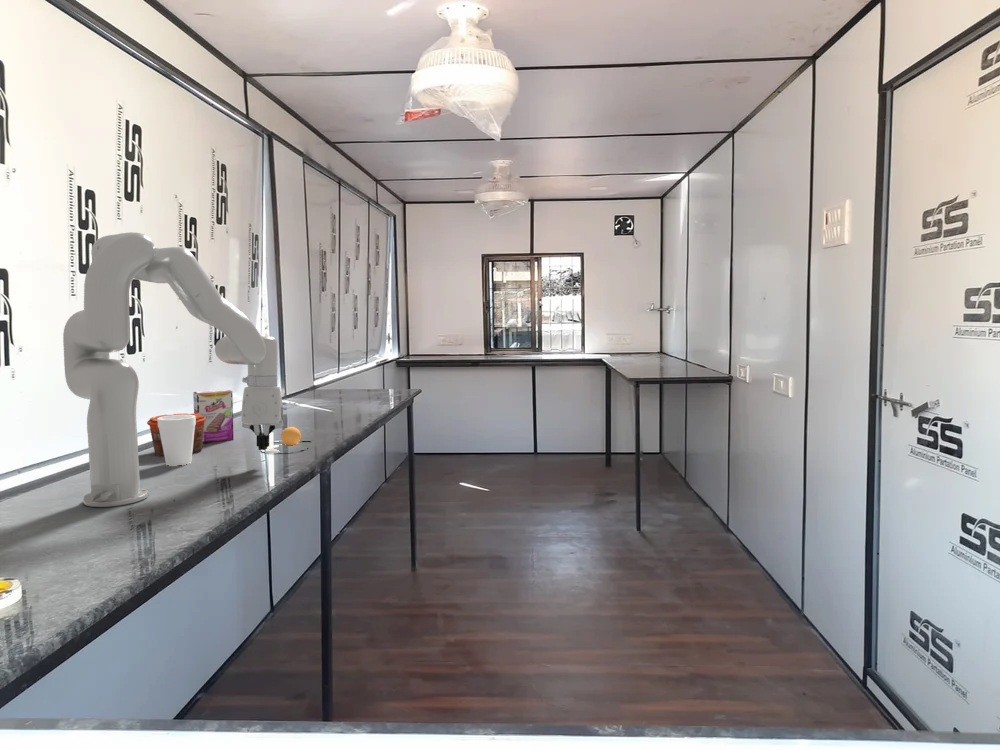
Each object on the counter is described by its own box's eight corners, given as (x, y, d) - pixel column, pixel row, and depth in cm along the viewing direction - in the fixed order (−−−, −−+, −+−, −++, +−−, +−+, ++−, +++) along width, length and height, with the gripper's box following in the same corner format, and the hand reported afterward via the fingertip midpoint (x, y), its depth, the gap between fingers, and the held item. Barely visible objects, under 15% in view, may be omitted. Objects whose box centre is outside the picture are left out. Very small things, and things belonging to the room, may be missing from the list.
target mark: (303, 453, 198) (303, 452, 198) (255, 454, 197) (255, 453, 197) (312, 444, 212) (312, 443, 212) (267, 445, 211) (267, 444, 211)
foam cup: (204, 460, 190) (202, 415, 188) (185, 467, 181) (183, 420, 179) (172, 459, 191) (170, 414, 189) (152, 467, 182) (150, 419, 180)
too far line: (311, 441, 216) (311, 441, 216) (273, 442, 215) (273, 441, 215) (312, 440, 218) (312, 440, 218) (275, 441, 217) (275, 440, 217)
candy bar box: (198, 444, 213) (196, 393, 211) (194, 441, 217) (192, 391, 215) (234, 439, 220) (232, 390, 218) (229, 437, 224) (227, 389, 222)
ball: (303, 427, 213) (302, 446, 212) (284, 427, 212) (283, 446, 212) (298, 426, 207) (297, 446, 206) (278, 426, 207) (278, 446, 206)
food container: (179, 459, 191) (177, 422, 190) (136, 455, 196) (134, 419, 195) (219, 448, 206) (217, 414, 205) (178, 445, 211) (176, 411, 210)
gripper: (229, 382, 176) (230, 451, 177) (287, 383, 177) (288, 451, 179) (238, 380, 184) (238, 446, 185) (294, 381, 185) (294, 447, 186)
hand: (263, 449), depth 182 cm, fingers closed
